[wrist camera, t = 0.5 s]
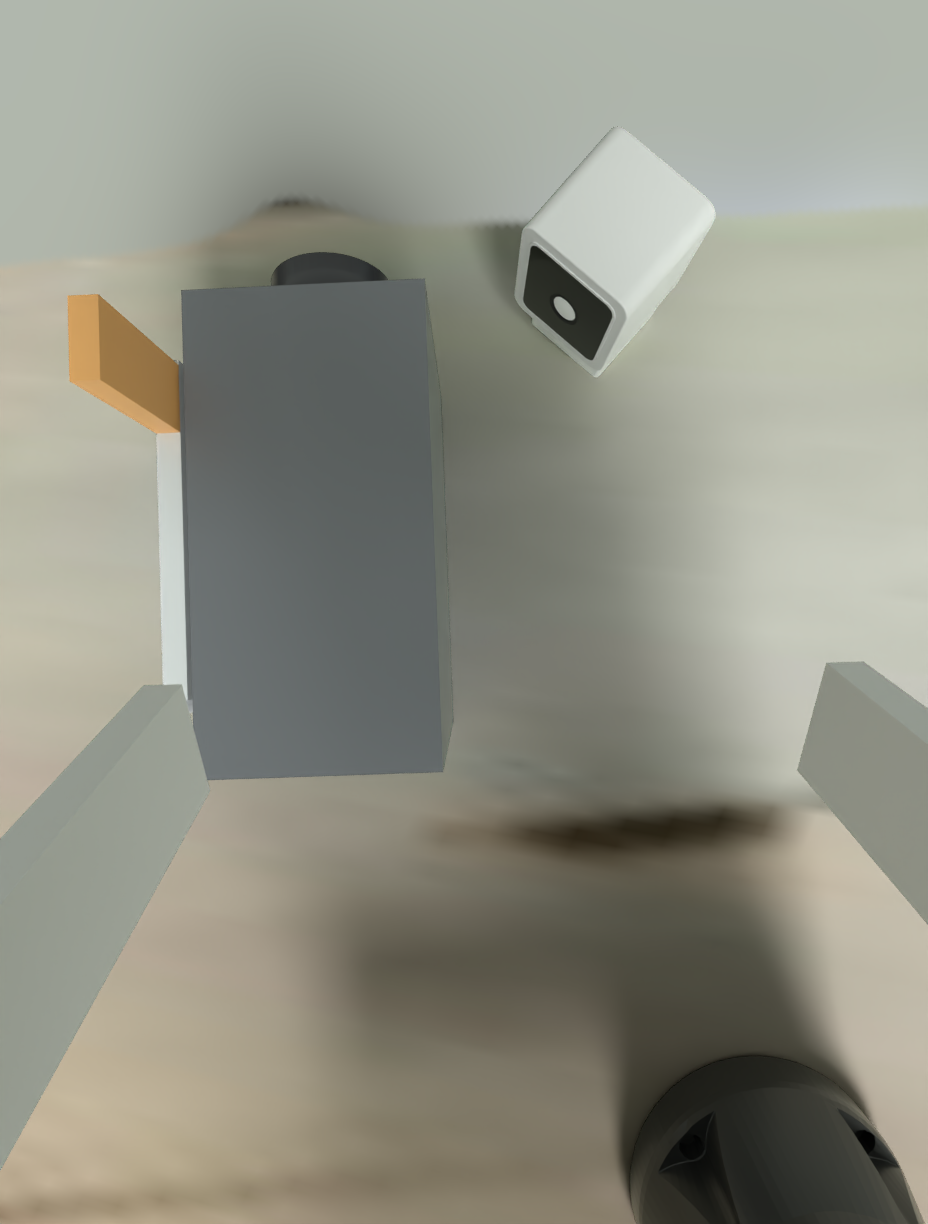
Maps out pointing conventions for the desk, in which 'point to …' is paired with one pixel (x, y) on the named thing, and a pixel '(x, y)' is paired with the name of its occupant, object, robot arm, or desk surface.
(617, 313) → the security camera
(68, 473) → the desk surface
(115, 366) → the hinged cabinet door
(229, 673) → the camera body
